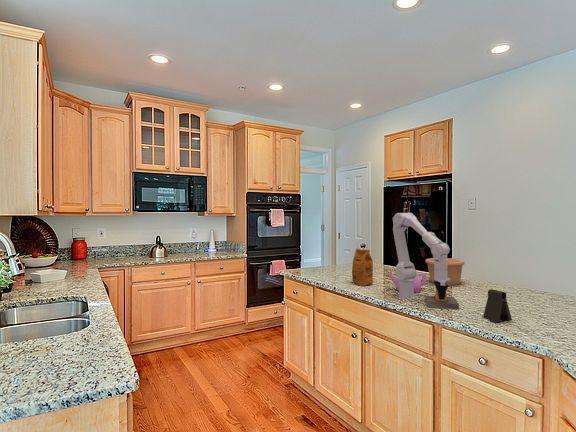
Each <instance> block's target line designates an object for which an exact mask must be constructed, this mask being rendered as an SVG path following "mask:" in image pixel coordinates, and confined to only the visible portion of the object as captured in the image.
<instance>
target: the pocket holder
mask: <svg viewBox="0 0 576 432" xmlns="http://www.w3.org/2000/svg"><path fill="white" fill-rule="evenodd" d="M424 302H425V303H426V304H425V305H426V308H427V309H428V308H429V309H440V310H441V309H443V310H457V311H458V310H460V304H459V302H458V301H457V299H456V298H455V296H447V301H435V295H424Z"/></svg>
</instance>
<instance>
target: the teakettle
mask: <svg viewBox="0 0 576 432" xmlns="http://www.w3.org/2000/svg"><path fill="white" fill-rule="evenodd" d="M416 272H417V275H416V277H415V278H414V294H419V293H421V290H422V286H424V285H426V284H427V283H428V282H427V281H428V280H427V275H426V273H424V272H418V271H417V270H416ZM387 275H388V277H389V278H390V280H391V281H392V282H393V283H394V285H395V287H396V290H397V291H398V292H399V281H398V279H397V277H396V278H395V276H393V274H392V273H388V274H387ZM420 277H422V280H420Z"/></svg>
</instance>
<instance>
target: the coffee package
mask: <svg viewBox="0 0 576 432" xmlns="http://www.w3.org/2000/svg"><path fill="white" fill-rule="evenodd" d="M370 252H371V250H370V249H360V248H355V251H354V254H353V255H354V256H353V259H352V265H351V267H352V268H351V270H352V271H351V275H352V276H351V279H352V281H351V283H354V284H353V285H357V286H360V285H362V286H361V287H366V286H368V285H372V284H374V277H373V275H374V273H373V272H374V271H373V270H374V267H373V265H374V264H373V263H374V262H373V259H372V256H371V253H370Z"/></svg>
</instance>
